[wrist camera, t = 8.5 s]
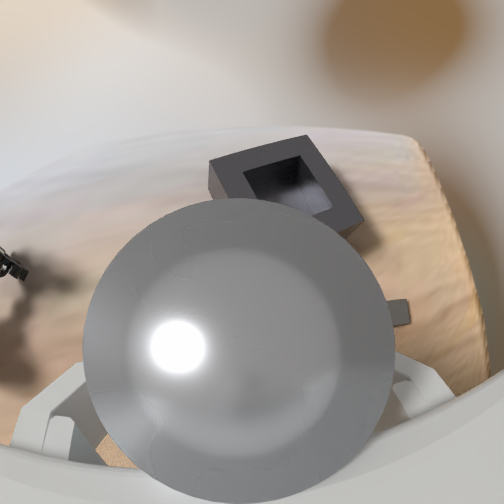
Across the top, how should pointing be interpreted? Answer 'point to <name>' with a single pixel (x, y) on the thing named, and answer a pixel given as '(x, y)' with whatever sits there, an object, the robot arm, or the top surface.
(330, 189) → the socket block
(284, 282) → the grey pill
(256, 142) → the top surface
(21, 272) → the valve
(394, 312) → the bar
